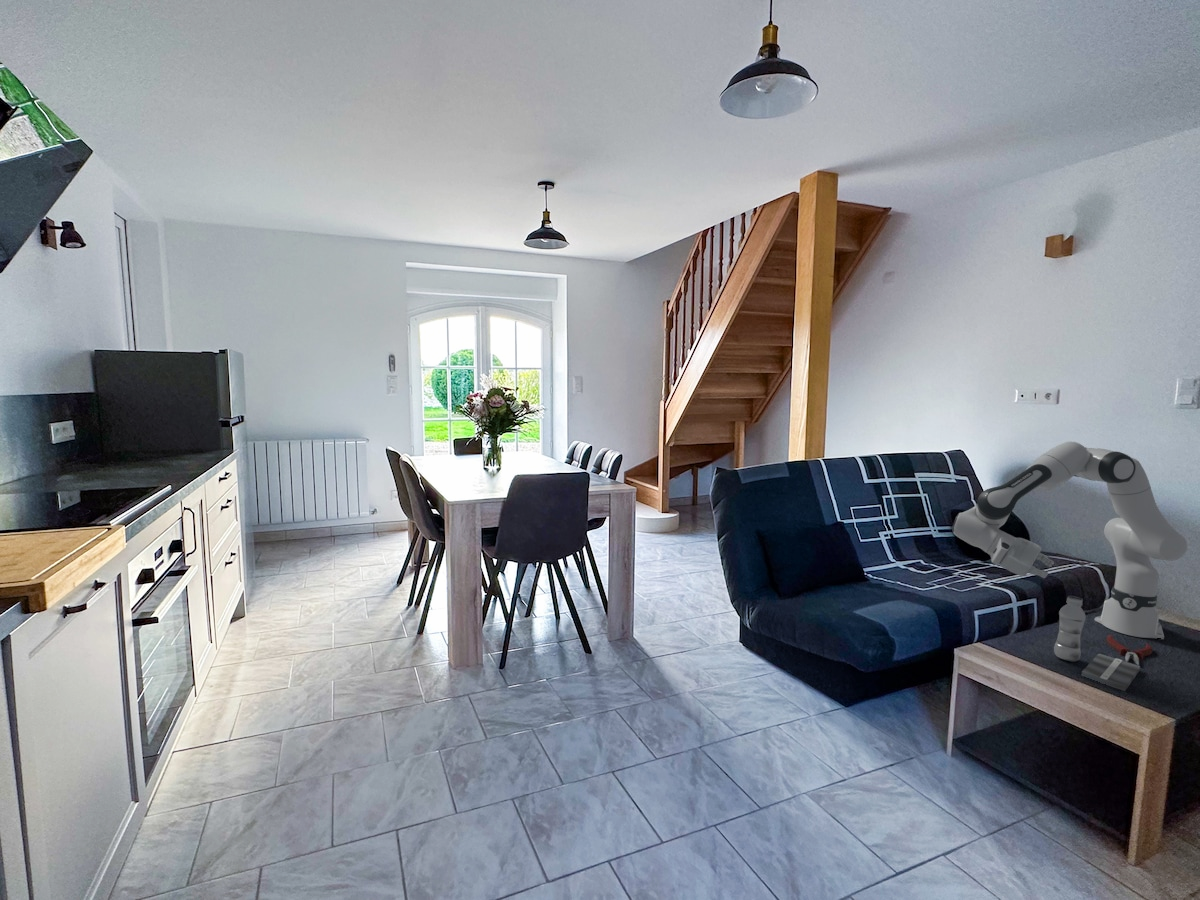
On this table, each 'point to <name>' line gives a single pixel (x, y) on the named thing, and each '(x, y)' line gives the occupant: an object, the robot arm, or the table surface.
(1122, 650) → the pliers
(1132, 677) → the subfloor board
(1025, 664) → the table surface
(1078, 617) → the plastic bottle
